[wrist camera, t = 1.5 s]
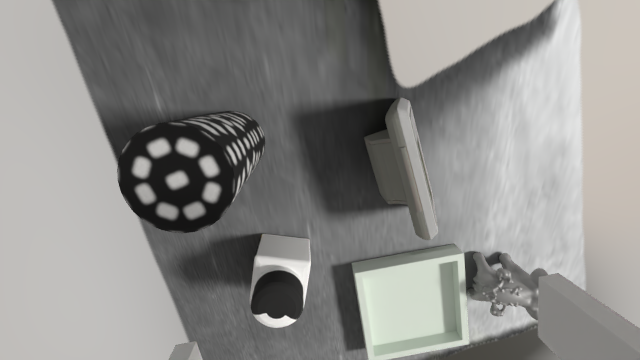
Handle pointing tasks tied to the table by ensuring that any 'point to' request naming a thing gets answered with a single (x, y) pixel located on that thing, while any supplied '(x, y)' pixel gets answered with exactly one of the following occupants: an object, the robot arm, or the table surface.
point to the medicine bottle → (280, 279)
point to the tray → (412, 302)
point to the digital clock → (403, 167)
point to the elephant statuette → (506, 285)
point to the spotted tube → (189, 169)
